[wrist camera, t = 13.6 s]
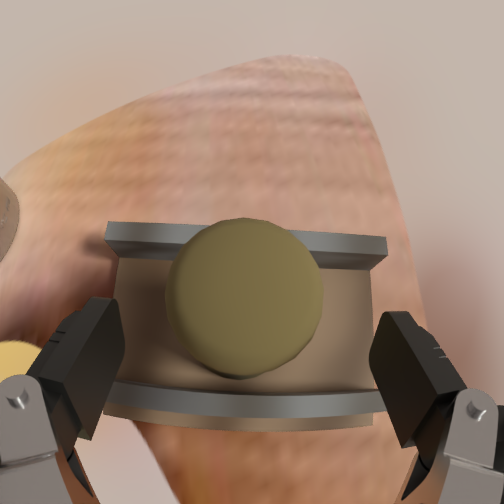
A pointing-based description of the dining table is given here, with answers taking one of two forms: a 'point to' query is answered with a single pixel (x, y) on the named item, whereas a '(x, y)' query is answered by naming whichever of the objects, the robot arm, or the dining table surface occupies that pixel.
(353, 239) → the walnut track
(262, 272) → the olive waisted cylinder
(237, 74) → the dining table surface
